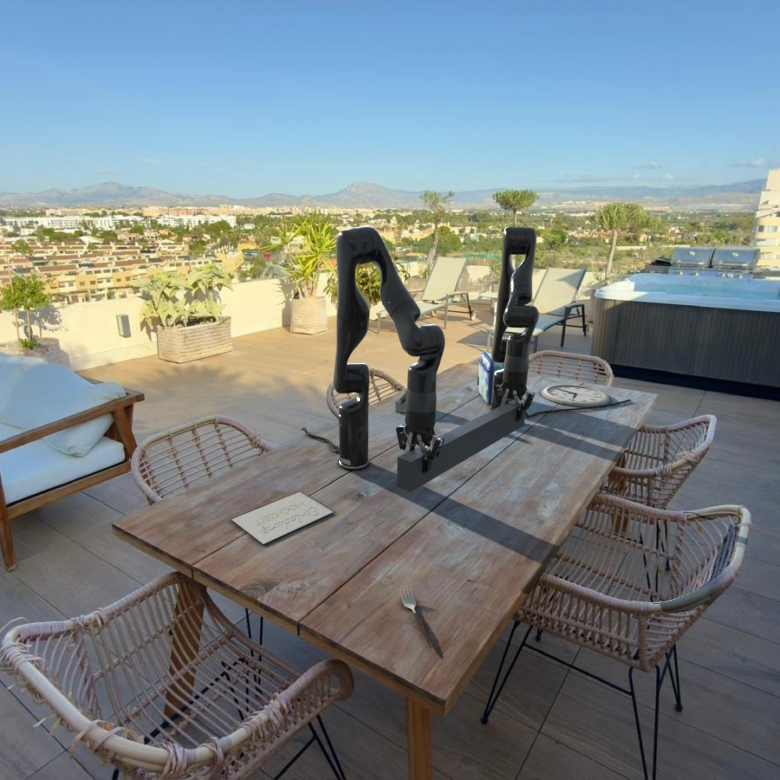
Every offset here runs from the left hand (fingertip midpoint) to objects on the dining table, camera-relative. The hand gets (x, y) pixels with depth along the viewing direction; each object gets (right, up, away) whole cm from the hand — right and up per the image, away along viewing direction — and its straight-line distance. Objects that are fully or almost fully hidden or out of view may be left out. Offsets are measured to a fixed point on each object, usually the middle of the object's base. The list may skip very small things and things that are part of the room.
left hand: (418, 469), depth 133 cm
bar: (+16, +2, +20) cm, 26 cm away
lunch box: (+38, +16, +100) cm, 109 cm away
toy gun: (0, +12, +87) cm, 88 cm away
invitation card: (-35, -13, +3) cm, 38 cm away
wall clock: (+78, +17, +106) cm, 133 cm away
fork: (-2, -25, -32) cm, 40 cm away
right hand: (+32, +11, +37) cm, 51 cm away
